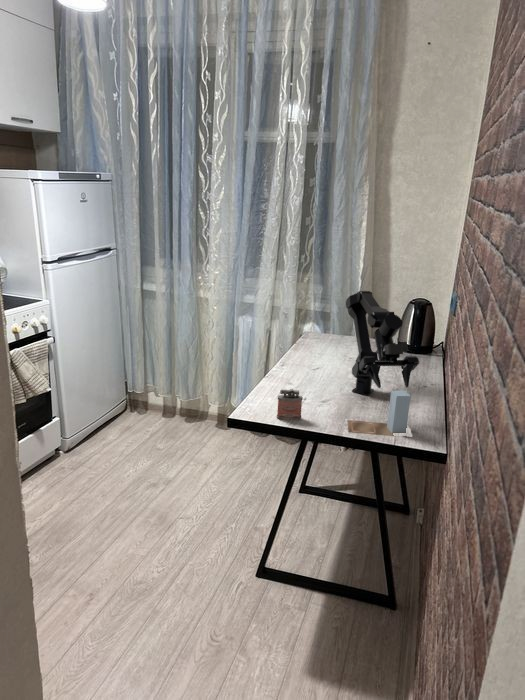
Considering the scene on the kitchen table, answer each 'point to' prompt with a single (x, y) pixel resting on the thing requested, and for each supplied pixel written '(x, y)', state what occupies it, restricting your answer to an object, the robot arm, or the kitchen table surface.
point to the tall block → (398, 411)
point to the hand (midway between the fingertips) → (393, 387)
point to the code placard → (368, 428)
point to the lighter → (289, 405)
